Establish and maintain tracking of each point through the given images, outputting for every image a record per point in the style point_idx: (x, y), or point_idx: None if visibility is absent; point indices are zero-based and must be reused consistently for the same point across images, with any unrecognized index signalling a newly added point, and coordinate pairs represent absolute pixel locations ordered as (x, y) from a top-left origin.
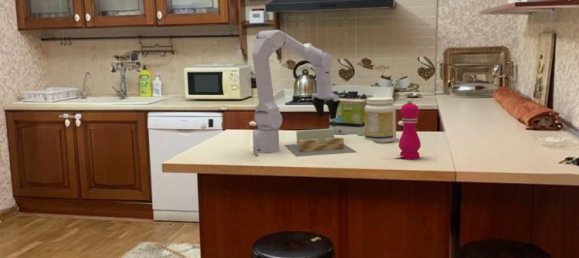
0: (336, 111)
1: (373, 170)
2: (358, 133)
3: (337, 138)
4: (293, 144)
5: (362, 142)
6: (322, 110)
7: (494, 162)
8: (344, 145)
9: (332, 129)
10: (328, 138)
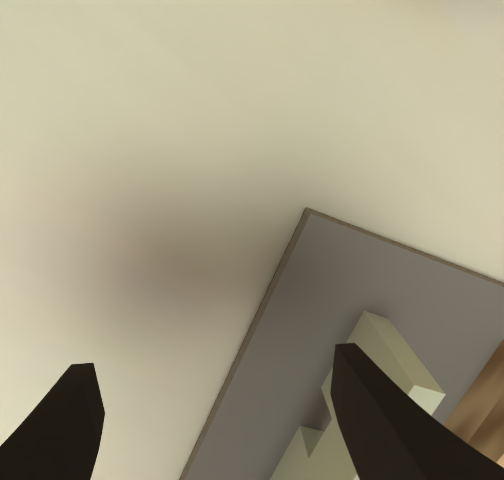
0: (414, 405)
1: None
2: None
3: None
4: (192, 477)
5: (394, 25)
6: (64, 440)
7: None
8: (453, 281)
9: (436, 402)
10: (502, 462)
